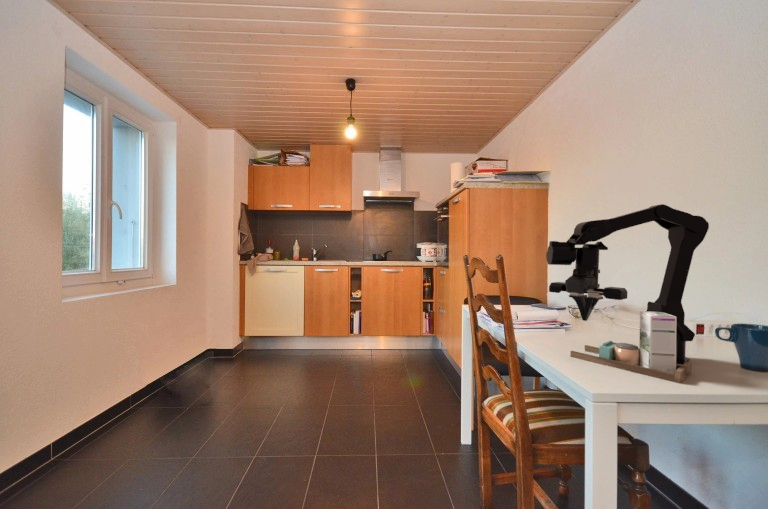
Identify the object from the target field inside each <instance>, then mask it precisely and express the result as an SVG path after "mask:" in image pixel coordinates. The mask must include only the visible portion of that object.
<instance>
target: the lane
mask: <svg viewBox="0 0 768 509" xmlns="http://www.w3.org/2000/svg"><path fill="white" fill-rule="evenodd" d="M584 351H585V352H589V353H594V354H598V355H599V347H596V346H592V345H588V344H587V345H586V344H585V345H584ZM569 355H570V357H571V358H576V359H579V360H582V361H583V360H584V361H588V362H591V363H594V364H595V363H596V364H599V365H603V366H607V365H608V367H611V366H612V367H613V368H615V367H616V368H615V369H620V370H623V371H624V370H625V371H629V372H631V373H636V374H640V375H646V376H649V377H653V378H658V379H660V380H661V379H662V380H665V381H669V382H673V383H676V384H681V383H682V382H684V381H685V379H687V378H688V377H689V376H690V375H691V374H692V362H688V361H687V362H686V363H685V364H682V365H681V364H679V363H676V371H675V374H671V373H667V372H663V371H658V370H654V369H650V368H645V367H641V366H636V365H632V364H628V363H623V362H619V361H615V360H610V359H606V358H602V357H599V356H597V355H593V354H588V353H583V352H580V351H575V350H570V354H569Z"/></svg>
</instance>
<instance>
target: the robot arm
mask: <svg viewBox="0 0 768 509" xmlns="http://www.w3.org/2000/svg"><path fill="white" fill-rule="evenodd" d="M651 222H655V223H656V224H658V226H660V227H661V228H662V229H665V230H666V231H667V232H668V233H667V234H668V236H667V237H668V238H667V239H668V241H669V245H670V251H669V255H668V259H667V264H666V268H665V271H664V272H665V273H664V275H663V276H664V277H663V279H662V283H661V289H660V291H659V296H658V297H657V298H656V300H655V301H654V302H652V301H647V304H646V305H647V306H646V307H647V308H646V311H654V312H663V313H667V314H670V315H673V316H676V317H677V327H676V364H679V365H681V364H682V365H683V364H685V363H686V362H687V363H688V361H690V357H686V346H687V345H686V344H687V342H693V340H694V338H695V335H696V333H695V332H693V331H692V330H691V328H690V327H688V325H686V324H685V316H686V314H685V310H684V306H683V303H682V300H683V296H684V292H685V287H686V284H687V280H688V276H689V272H690V268H691V264H692V261H693V256H694V252H695V250H696V249H697V248H698V247H699V246H700V245H701V244H702V242H703V241H704V239H705V237H706V236H707V233H708V231H709V228H710V223H709V221H707V220H706V218H705V217H703V216H700V215H694V214H691V213H689V212H686V211H682V210H679V209H677V208H673V207H671V206H669V205H666V204H663V203H662V204H661V203H660V204H656V205H651V206H649V207H647V208H644V209H641V210H636V211H632V212H629V213H626V214H622V215H619V216H615V217H612V218H608V219H607V218H606V219H597V220H590V221H589V220H588V221H584V222H580V223H577V224H576V225H575V227H574V230H573V233H572V234H571V236H570V237H569V238H568V239H567V240H566V241H557V240H550V241H549V243H548V244H549V245H548V247H547V251H546V254H545V256H546V257H545V258H546V262H547V265H550V266H551V265H554V266H571V265H572V264H573V263H575V267H574V268H573V270H572V274H571V276H569V277H568V278H567V279H566V280H565V281H564V282H563V281H562V282H561V281H556V282H555V281H554V282H551V283H550V284H549V286H548V292H550V293H555V294H559V293H561V292H566V293H569V295H568V297H569V298H571V299H573V301H574V302H575V304H576V306H577V308H578V311H579V313H580V316H581V319H582V321H584V322H586V321H588V320H589V318H590V316H591V314H592V311H593V310H594V308H595V306H596V305H597V304H598V302H599V300H603V299H604V298H605V299H607V300H615V301H616V300H619V301H622V300H626V299H628V290H627V289H626V288H625V287H615V286H607V287H604V288H600V283H599V274H601V269H599V268H600V267H599V266H600V264H599V263H600V251H607V250H608V249H609V247H608V246H606V245H605V244H604V242H602V241H600V240H601V239H604V238H606V237H608V236H610V235H611V234H613V233H615V232H618V231H621V230H624V229H628V228H632V227H636V226H640V225H642V224H643V225H644V224H647V223H651ZM590 242H595V243H590ZM576 246H582V247H576Z"/></svg>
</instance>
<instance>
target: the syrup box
mask: <svg viewBox="0 0 768 509" xmlns="http://www.w3.org/2000/svg"><path fill="white" fill-rule="evenodd" d="M676 327H677V317H676V316H673V315H670V314H667V313H663V312H654V311H647V310H646V311H639V366H641V367H645V368H650V369H654V370H658V371H663V372H667V373H671V374H675V371H676V364H677V363H676Z"/></svg>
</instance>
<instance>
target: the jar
mask: <svg viewBox="0 0 768 509" xmlns="http://www.w3.org/2000/svg"><path fill="white" fill-rule="evenodd" d="M615 343H616V345H615V347H614V360H615V361H619V362H623V363H628V364H632V365H636V366H639V349H640V347H639V346H638V345H636V344H633V343H626V342H615Z"/></svg>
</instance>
